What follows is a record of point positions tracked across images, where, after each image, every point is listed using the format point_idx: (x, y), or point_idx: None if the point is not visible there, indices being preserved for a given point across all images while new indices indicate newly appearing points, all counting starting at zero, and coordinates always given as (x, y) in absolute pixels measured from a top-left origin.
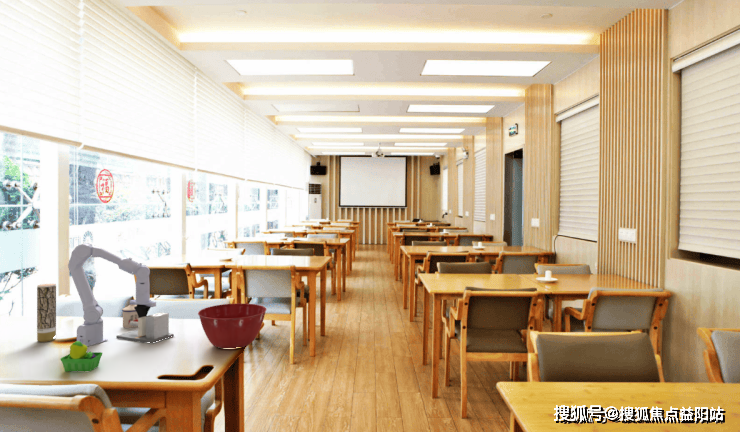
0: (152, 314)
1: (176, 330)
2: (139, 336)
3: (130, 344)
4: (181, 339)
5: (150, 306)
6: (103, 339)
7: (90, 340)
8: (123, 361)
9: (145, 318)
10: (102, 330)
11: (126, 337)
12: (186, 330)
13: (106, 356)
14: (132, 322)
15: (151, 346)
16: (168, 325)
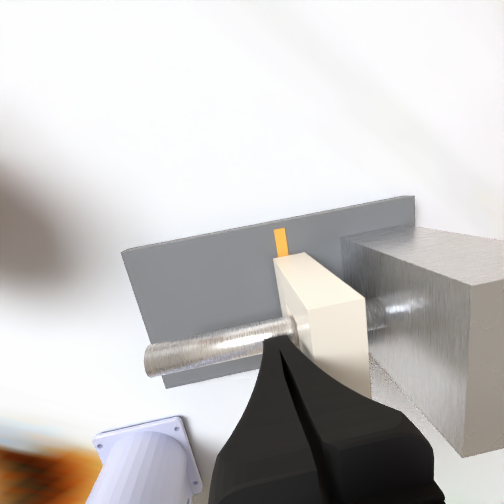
0: (466, 391)
1: (303, 89)
2: None
3: None
4: (480, 205)
5: (422, 439)
6: (162, 431)
7: (185, 499)
8: (478, 468)
9: (367, 393)
10: (159, 498)
11: (240, 371)
12: (363, 48)
13: None
14: (178, 371)
15: None
16: (456, 234)
